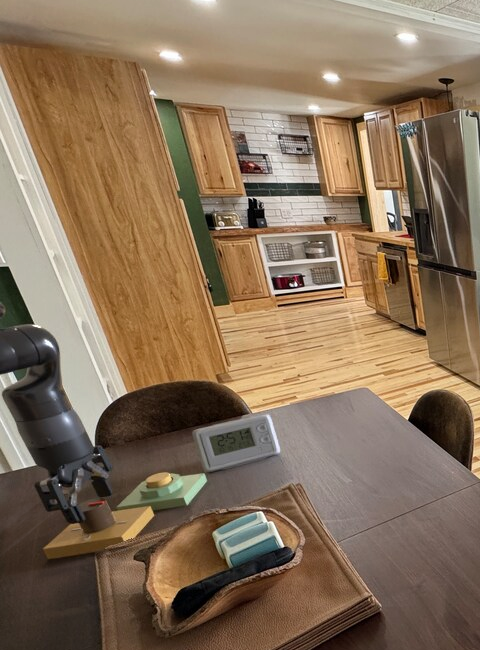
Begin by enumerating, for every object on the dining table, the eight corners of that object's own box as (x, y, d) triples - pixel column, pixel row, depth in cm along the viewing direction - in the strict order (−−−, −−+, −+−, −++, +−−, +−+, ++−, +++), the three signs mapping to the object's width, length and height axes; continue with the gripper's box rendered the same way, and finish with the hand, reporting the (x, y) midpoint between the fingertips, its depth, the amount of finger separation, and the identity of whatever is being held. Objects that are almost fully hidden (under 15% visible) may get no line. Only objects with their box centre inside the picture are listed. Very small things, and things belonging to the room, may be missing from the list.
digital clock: (200, 476, 114) (186, 437, 110) (210, 458, 122) (196, 421, 118) (279, 460, 121) (268, 423, 117) (283, 445, 128) (273, 409, 124)
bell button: (144, 490, 103) (141, 483, 102) (154, 480, 106) (151, 473, 106) (166, 487, 104) (163, 480, 103) (175, 477, 107) (173, 471, 107)
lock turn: (77, 535, 91) (65, 513, 89) (92, 520, 95) (81, 498, 93) (106, 531, 92) (95, 508, 90) (120, 516, 96) (110, 494, 94)
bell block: (119, 515, 100) (112, 500, 99) (146, 489, 109) (139, 474, 108) (187, 505, 104) (181, 490, 102) (207, 480, 112) (201, 466, 111)
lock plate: (48, 559, 88) (41, 548, 87) (84, 526, 97) (78, 515, 96) (126, 546, 92) (121, 535, 91) (154, 515, 100) (150, 505, 99)
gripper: (57, 421, 91) (92, 491, 97) (-5, 458, 79) (40, 536, 85) (105, 416, 93) (137, 485, 99) (53, 451, 81) (92, 527, 87)
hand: (92, 508), depth 92 cm, fingers open, 8 cm apart
